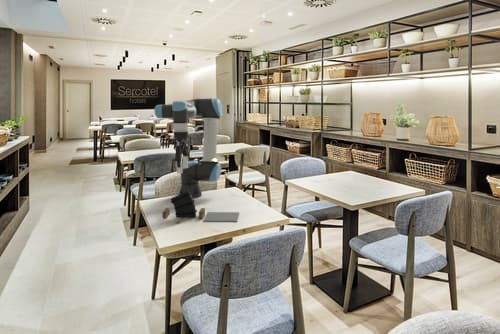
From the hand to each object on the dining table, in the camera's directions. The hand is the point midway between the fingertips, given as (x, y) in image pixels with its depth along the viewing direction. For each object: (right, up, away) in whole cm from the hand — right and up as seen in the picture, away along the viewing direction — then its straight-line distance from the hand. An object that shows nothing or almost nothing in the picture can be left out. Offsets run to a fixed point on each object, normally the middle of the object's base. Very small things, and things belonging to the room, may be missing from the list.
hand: (182, 170), depth 187 cm
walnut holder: (0, -26, +5) cm, 26 cm away
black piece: (0, -26, +5) cm, 26 cm away
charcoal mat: (+21, -26, +4) cm, 33 cm away
